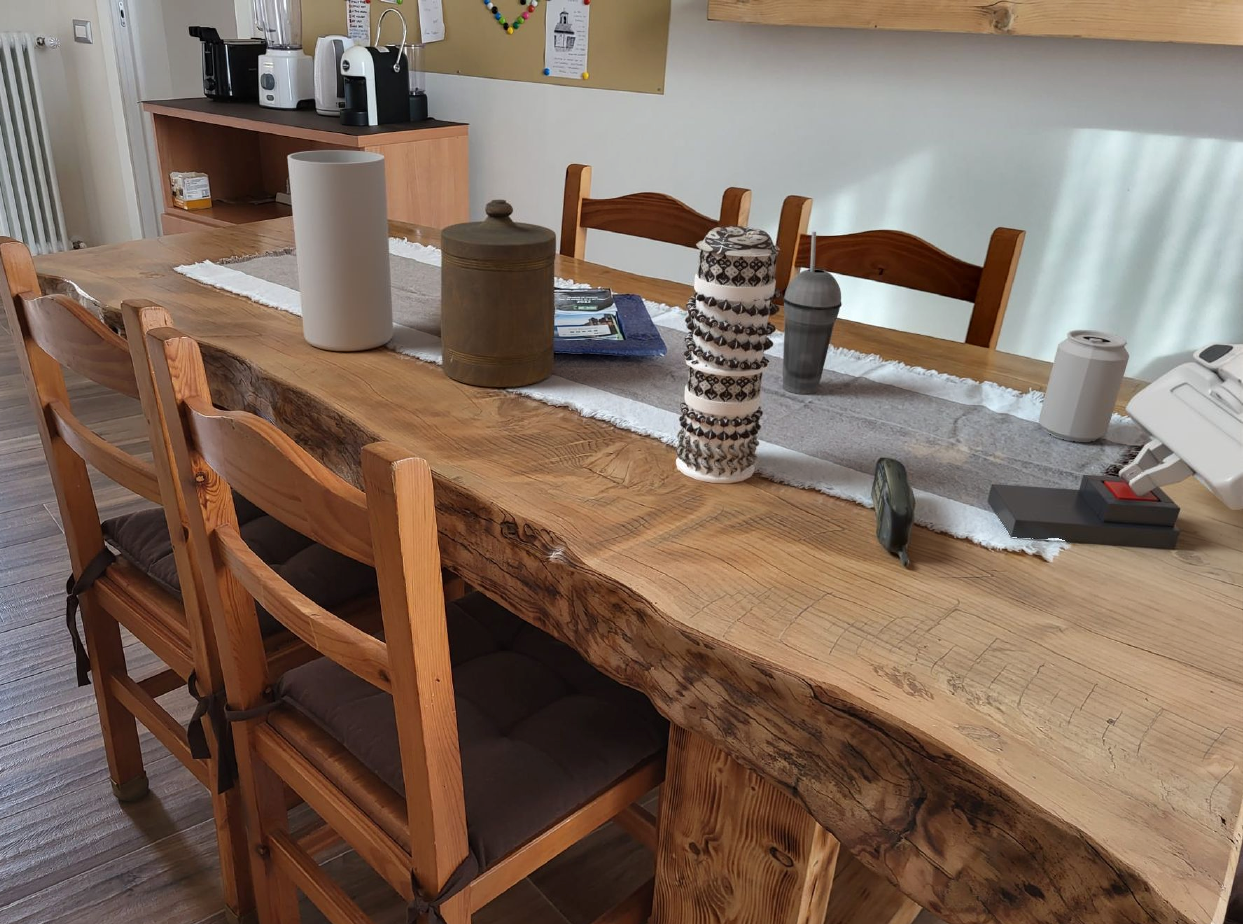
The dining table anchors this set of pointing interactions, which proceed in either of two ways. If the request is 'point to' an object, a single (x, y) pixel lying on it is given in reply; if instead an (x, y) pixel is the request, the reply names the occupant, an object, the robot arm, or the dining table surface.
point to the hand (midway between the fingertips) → (1127, 485)
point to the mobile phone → (893, 506)
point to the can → (1084, 385)
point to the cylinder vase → (342, 248)
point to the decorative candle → (727, 354)
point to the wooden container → (497, 300)
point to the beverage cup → (808, 326)
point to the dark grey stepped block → (1086, 514)
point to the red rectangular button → (1127, 492)
